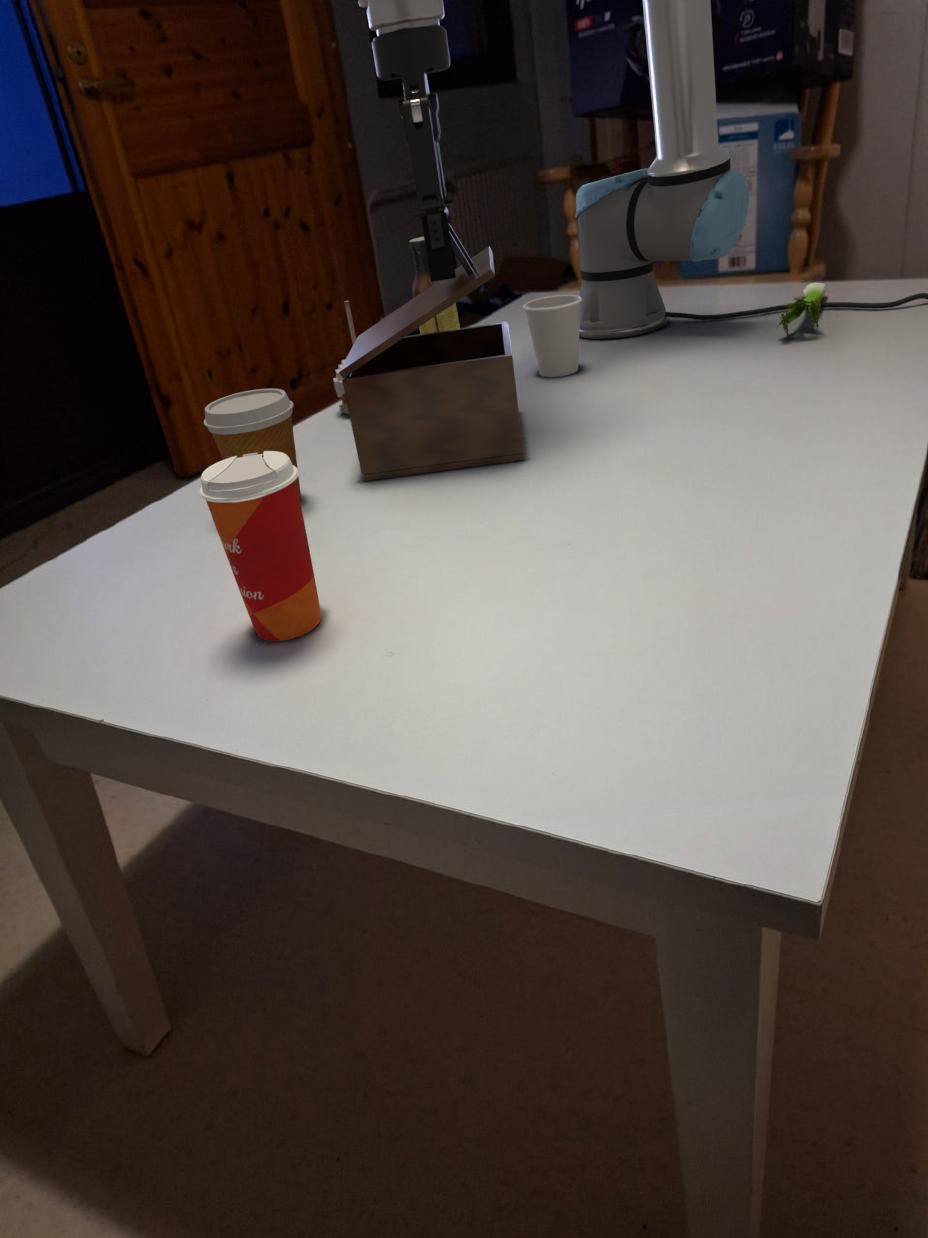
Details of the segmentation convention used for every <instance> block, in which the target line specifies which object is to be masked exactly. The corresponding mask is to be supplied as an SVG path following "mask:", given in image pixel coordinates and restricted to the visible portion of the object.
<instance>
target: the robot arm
mask: <svg viewBox="0 0 928 1238" xmlns="http://www.w3.org/2000/svg"><path fill="white" fill-rule="evenodd" d="M357 2H358V6H359V7H360V8H364V9H365V8H367V9H366V15H367V21H368V27H369V29H370V30H371V31H372V32H374V33H375V32H376V35H377V36H375V37H373V38H372V41H371V48H372V54H373V60H374V66H375V72H376V76H377V78H378V79H379V81H385V82H386V81H393V80H394V81H395V80H399V79H401V80H402V87H403V95H404V96H403V97H404V98H401V99H397V102H398V112H399V115H400V118H401V119H402V122H403V129H404V136H405V141H406V144H407V146H408V147H409V151H410V157H411V162H412V170H413V178H414V184H415V191H416V197H417V202H416V205H417V208H418V209H413V216H414V218H420V221H421V227H422V232H423V237H424V240H425V246H426V252H427V259H428V265H429V271H430V278H431V282H433V281H440V280H446V279H453V278H456V274H455V269H457V268H458V264H457V256H456V255H455V253H454V251H453V250H452V246H451V239H450V232H449V225H448V222H449V224H450V225H451V226H452V223H451V216H450V215H451V214H449V215H448V218H447V212H445V209H446V207H447V209H448V212H449V213H450V208H449V205H454V197H453V195H449V196H448V191H447V188H446V185H445V176H444V172H443V171H444V170H443V164H442V157H441V150H440V144H439V142H440V141H441V138H442V137H441V136H442V133H441V126H440V119H439V113H440V104H439V97H438V93H435V92H434V93H431V92H430V88H429V82H428V75H429V74H434V73H439V72H443V71H446V70H448V69H449V68H450V66H451V56H450V50H449V42H448V35H447V29H445V28H444V26H443V25H440V21H442V20H443V19H444V17H445V8H444V0H358V1H357ZM642 7H643V9H642V10H643V19H644V31H645V42H646V52H647V63H648V64H647V65H648V74H649V86H650V87H649V88H650V98H651V109H652V118H653V130H654V143H655V151H656V156H655V158H654V159H653V160H654V161H652V163H651V164H650V166H649V167H648V168H646V167H645V168H642V169H638V170H634V171H630V172H626V173H623V174H618V175H615V176H614V175H613V176H611V177H607V178H604V179H600V180H596V181H592V182H589V183H585V184H583V185H580V187H579V188H578V190H577V191H576V195H575V217H574V218H575V220H576V231H577V241H578V253H579V267H580V280H581V284H580V285H581V286H580V290H579V293H578V294H579V295H578V296H580V297H581V298H582V301H581V305H580V332H579V338H584V339H591V340H605V339H607V340H608V339H620V338H627V337H628V338H629V337H635V336H640V335H644V334H647V333H651V332H654V331H656V330H659V329H662V328H663V327H664V326H665V325H667V322H668V318H674V319H675V318H676V319H687V320H695V321H715V320H716V321H717V320H727V319H733V318H741V317H748V316H755V315H762V314H766V313H772V312H779V311H786V310H787V311H789V310H788V309H787V307H788V306H786V305H787V304H779V305H773V306H769V307H767V306H766V307H762V308H755V309H749V310H742V311H734V312H728V313H718V314H717V313H716V314H695V313H686V312H674V311H667V309H666V305H665V302H664V300H663V297H662V294H661V292H660V289H659V285H658V283H657V280H656V278H655V274H654V273H655V271H654V262H684V261H685V262H686V261H689V262H693V263H696V262H697V263H700V262H702V261H710V260H719V259H722V258H723V257H726V255H728V254H729V253H730V252H731V251H732V250H733V249H734V248H735V246H736V245H737V243H738V241H739V240H740V237H741V234H742V232H743V231H744V228H745V224H746V220H747V217H748V211H749V201H750V189H749V184H748V182H747V181H746V177H745V175H744V174H743V173H741V172H740V171H737V170H733V169H732V167H731V166H732V165H731V154H730V153H729V152H728V151H727V149H725V148H724V147H722V146H721V145H720V143H719V131H718V112H717V95H716V94H717V93H716V76H715V75H716V74H715V60H714V59H715V58H714V40H713V38H714V37H713V23H712V22H713V21H712V5H711V0H642ZM445 206H446V207H445ZM921 299H923V300H928V292H918V293H915V294H911V295H909V296H906V297H904V298H901V299H898V300H894V301H889V302H851V301H832V302H831V301H829V302H827V301H826V302H825V301H823V302H821V301H820V302H819V303H818V305H819V304H820V303H821V306H820V309H823V308H827V309H829V308H830V309H833V308H836V309H837V308H845V309H846V308H849V309H889V308H895V307H898V306H899V307H900V306H902V305H905V304H907V303H910V302H912V301H917V300H921ZM790 307H791V306H790ZM788 308H789V307H788ZM793 308H794V307H793ZM818 308H819V307H818ZM791 309H792V308H791ZM791 309H790V310H791ZM805 309H808V307H806V308H805Z"/></svg>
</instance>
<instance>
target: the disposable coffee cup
mask: <svg viewBox="0 0 928 1238" xmlns="http://www.w3.org/2000/svg"><path fill="white" fill-rule="evenodd" d="M293 408H294V402H293V401H292V400H291V399H290V398H289V396H288V394H287V393H286V391H285V390H283V389H281V388H260V389H258V388H257V389H252V390H245V391H240V392H236V393H233V394H229V395H227V396H224V397H221V398H218V399H216V400H213V401H212V402H210V403H209V404H207V405H206V406H205V407H204V420H203V425H204V426H205V427H206V428H207V429H208V431H209V432H210V433H211V434H212V437H213V439H214V443H215V444H216V446H217V449H218V451H219V453H220V456H221V458H222V460H225V459H227V458H230V457H234V456H237V457H238V458H240V457H243V455H245V454H251V453H258V454H263V452H264V451H277V452H282V453H284V454H286V455H287V456H288V457H289V458H290V460H291V463H292V465H294V466H295V467H296V468H297V469H298V460H297V453H296V452H297V451H296V444H295V443H296V442H295V436H294V426H293V418H292V417H293V416H292V415H293ZM262 457H264V455H262ZM298 470H299V469H298ZM299 477H300V476H299V475H298V477H297V478H296V481H297V487H298V492H299V497H300V502H301V503H302V494H301V487H300V478H299Z"/></svg>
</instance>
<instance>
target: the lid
mask: <svg viewBox="0 0 928 1238" xmlns="http://www.w3.org/2000/svg"><path fill="white" fill-rule="evenodd" d="M446 206H447V205H445V207H446ZM445 212H447V218H448V215H450V211H449V212H448V209H447V207H446V209H445ZM448 225H449V232H450V239H451V246H452V250H453V251H454V253H455V257H456V259H457V260H458V261H459V263H460V264H461V265H460V266H457V268H455V274H456V278H453V279H446V280H440V281H438V282H436V283H435V284H433V285H432V286H430V287H429V288H428V289H426V290H425V291H423V292H422V293H420V294H419V295H417V296H416V297H412V298H411V299H410V300H408V301H407V302H406V303H404V304H403V305H401V306H399V308H396V309H395V310H394V311H392V312H391V313H390V314H388V315H387V316H385V317H384V318H382V319H381V320H379V321H377V323H375V324H374V325H372V326H370V327H369V328H368V329H366V330H365V331H363V332H362V333H360V334H359V335H357V336H356V341H355V343H354V345H353V344H352V346H351V349H350V351H348V354H347V356H346V358H345V359H344V360H345V362H344V363H343V365H342V367H341V369H340V371H339V373H340V375H341V376H342V378H344V377H346V376H347V375H349V374H350V373H352V372H353V371H355V370H356V369H358V368H359V367H361V366H362V365H364V364H365V363H367V362H368V361H370V360H371V359H373V358H374V357H376V356H377V355H379V354H380V353H382V352H383V351H384V350H386V349H387V348H389V347H390V346H392V345H393V344H395V343H396V342H398V341H399V340H401V339H402V338H404V337H405V336H409V334H411V333H413V332H415V331H416V330H417V329H419V327H420V326H422V325H423V324H425V323H426V322H427V321H429V320H430V319H432V318H433V317H435V316H436V315H438V314H439V313H441V312H442V311H444V310H445V309H447V308H448V307H450V306H451V305H453V304H454V303H456V304H457V303H458V302H459V301H461V300H462V299H463V298H465V297H466V296H467V295H469V294H470V293H472V292H474V291H475V290H476V289H478V288H480V287H481V286H483V285H484V284H486V283H487V282H489V281H490V280H491V279H493V278H494V277H495V276H496V273H495V262H494V261H495V260H494V252H493V250H492V248H491V247H490V246H487V247H486V248H484V249H483V250H481V251H480V252H479V253H477V254H476V255H474V256H473V257H471V256H470V255H469V254H468V252H467V250H466V249H465V247H464V246H463V244H462V241H460V239H459V237H458V235H457V234H456V232H455V230H454V229H453V227H452V224H451V225H450V224H449V222H448Z"/></svg>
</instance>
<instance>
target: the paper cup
mask: <svg viewBox="0 0 928 1238" xmlns="http://www.w3.org/2000/svg"><path fill="white" fill-rule="evenodd" d="M262 455H264V457H262ZM297 468H298V467H297ZM297 468H296V467H295V466H294V465H292V463H291V460H290V458H289V457H288V456H287V455H286V454H284V453H282V452H277V451H264V452H263V454H258V453H251V454H245V455H243V457H240V458H238V457H237V456H234V457H230V458H227V459H225V460H223V459H222V460H220V461H217V462H215V463H214V464H211V465H209V466H208V467H206V468H205V469H204V470H203V472H202V473H201V476H200V484H201V487H200V488H199V491H198V494H199V497H200V498H201V499H202V500H204V501H205V502H206V504H207V507H208V510H209V512H210V515H211V517H212V520H213V523H214V526H215V529H216V531H217V534H218V536H219V539H220V542H221V545H222V547H223V550H224V553H225V556H226V558H227V561H228V563H229V566H230V569H231V572H232V575H233V577H234V579H235V582H236V585H237V588H238V590H239V593H240V596H241V598H242V601H243V604H244V606H245V609H246V611H247V614H248V616H249V619H250V622H251V625H252V627H253V629H254V632H255V633H256V635H257V637H259V638H260V639H262V640H264V641H270V642H282V641H288V640H292V639H293V640H294V639H297V638H299V637H302V636H304V635H306V634H308V633H310V632H311V631H313V630H314V629H315V628H317V626H318V625H319V624H320V622H321V619H322V613H321V605H320V600H319V599H320V598H319V595H318V589H317V582H316V578H315V572H314V567H313V561H312V556H311V550H310V545H309V540H308V535H307V530H306V524H305V519H304V514H303V509H302V504H301V503H302V501H301V502H300V497H299V492H298V487H297V481H296V478H297V477H298V476H299V475H300V472H299V469H297Z"/></svg>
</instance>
